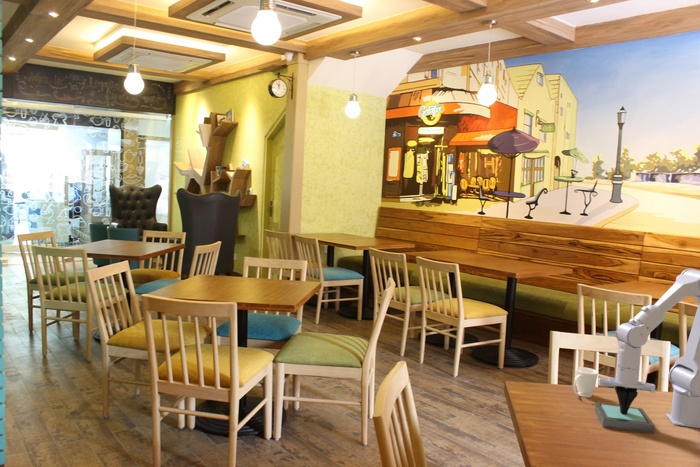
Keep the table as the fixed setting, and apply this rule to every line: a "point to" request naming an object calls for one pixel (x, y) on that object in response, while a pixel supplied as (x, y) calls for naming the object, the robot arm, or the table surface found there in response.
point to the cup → (585, 381)
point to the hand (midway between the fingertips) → (623, 413)
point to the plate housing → (624, 421)
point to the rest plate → (616, 414)
